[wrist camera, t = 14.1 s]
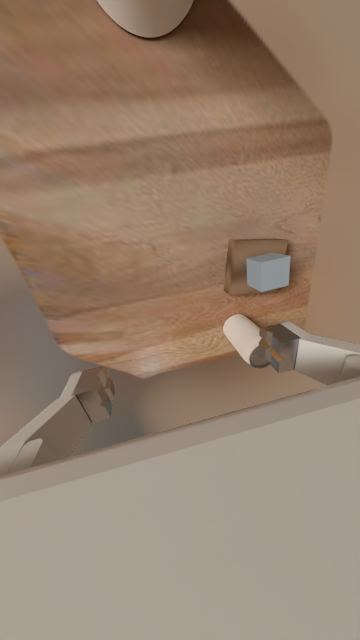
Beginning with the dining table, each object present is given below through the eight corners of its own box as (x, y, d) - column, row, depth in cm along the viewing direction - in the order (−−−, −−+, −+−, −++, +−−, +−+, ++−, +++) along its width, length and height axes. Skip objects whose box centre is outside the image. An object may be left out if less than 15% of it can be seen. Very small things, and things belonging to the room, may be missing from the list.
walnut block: (228, 239, 37) (237, 240, 33) (274, 238, 38) (288, 239, 35) (223, 289, 41) (230, 295, 37) (265, 287, 42) (276, 292, 39)
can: (219, 320, 44) (243, 350, 33) (244, 308, 43) (278, 335, 33) (226, 341, 47) (251, 375, 36) (250, 330, 46) (282, 361, 36)
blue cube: (246, 258, 35) (261, 262, 30) (272, 252, 35) (290, 255, 31) (247, 284, 37) (261, 292, 32) (271, 278, 37) (288, 285, 33)
